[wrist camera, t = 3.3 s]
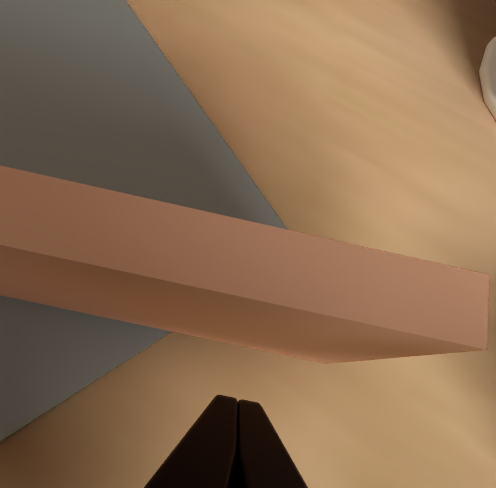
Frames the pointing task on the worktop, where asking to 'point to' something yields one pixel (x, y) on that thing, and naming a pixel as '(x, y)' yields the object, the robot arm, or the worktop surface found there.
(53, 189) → the terracotta fence panel
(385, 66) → the worktop surface
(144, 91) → the slate layout card
